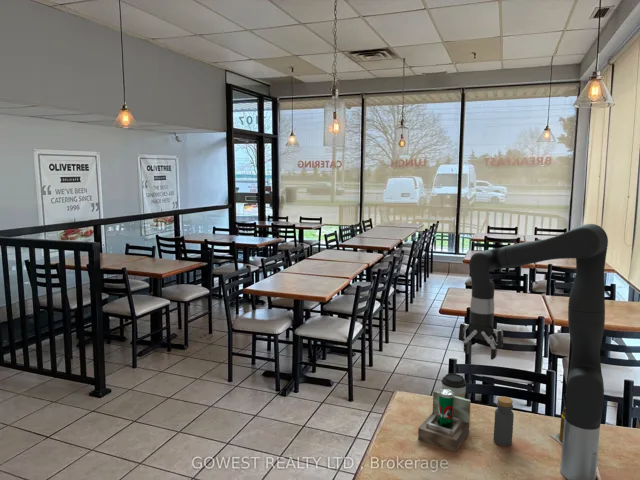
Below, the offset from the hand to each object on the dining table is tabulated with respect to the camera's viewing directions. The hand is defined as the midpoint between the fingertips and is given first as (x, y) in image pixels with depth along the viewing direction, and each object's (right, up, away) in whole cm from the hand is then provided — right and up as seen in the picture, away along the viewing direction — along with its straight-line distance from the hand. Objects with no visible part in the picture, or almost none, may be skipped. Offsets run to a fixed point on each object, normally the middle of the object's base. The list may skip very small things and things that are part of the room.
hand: (479, 356), depth 160 cm
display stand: (-12, -28, +2) cm, 30 cm away
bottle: (+7, -29, -1) cm, 30 cm away
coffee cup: (-5, -26, +17) cm, 31 cm away
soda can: (-11, -24, +2) cm, 27 cm away
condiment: (+30, -29, 0) cm, 41 cm away
